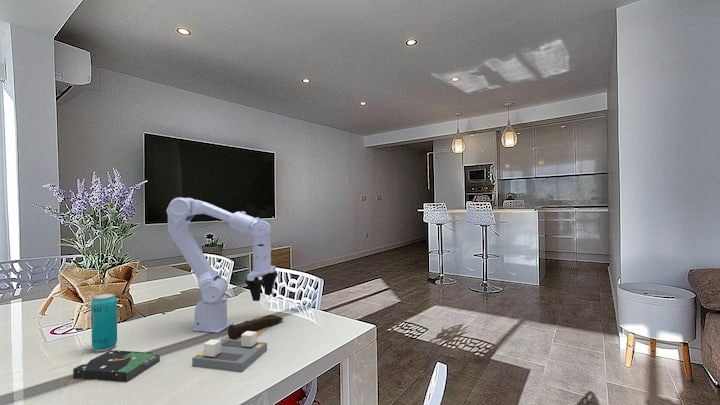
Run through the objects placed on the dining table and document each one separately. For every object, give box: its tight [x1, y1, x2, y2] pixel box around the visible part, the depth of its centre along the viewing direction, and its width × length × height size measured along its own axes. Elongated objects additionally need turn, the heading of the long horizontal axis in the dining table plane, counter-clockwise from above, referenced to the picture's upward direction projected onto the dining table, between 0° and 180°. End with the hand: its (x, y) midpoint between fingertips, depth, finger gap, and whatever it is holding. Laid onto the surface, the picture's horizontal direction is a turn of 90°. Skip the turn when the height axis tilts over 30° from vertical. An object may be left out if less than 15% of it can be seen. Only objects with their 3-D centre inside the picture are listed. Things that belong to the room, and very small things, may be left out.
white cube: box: [203, 339, 221, 357], centre depth 85 cm, size 3×3×3 cm
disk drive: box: [72, 349, 161, 383], centre depth 83 cm, size 10×3×15 cm
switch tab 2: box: [241, 331, 258, 347], centre depth 91 cm, size 3×3×3 cm
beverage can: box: [90, 292, 118, 353], centre depth 95 cm, size 6×6×15 cm
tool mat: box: [224, 315, 272, 340], centre depth 107 cm, size 9×23×1 cm, turn 167°
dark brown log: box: [227, 314, 284, 340], centre depth 107 cm, size 19×4×5 cm
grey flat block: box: [191, 338, 268, 373], centre depth 88 cm, size 14×12×2 cm
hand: (262, 297), depth 112 cm, fingers open, 7 cm apart
